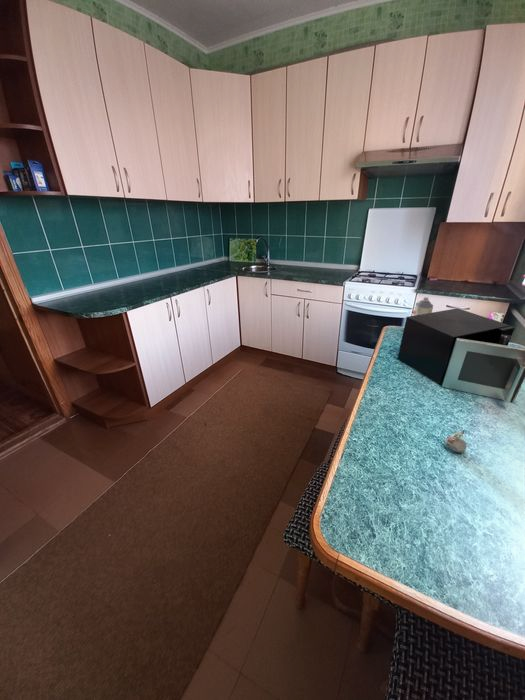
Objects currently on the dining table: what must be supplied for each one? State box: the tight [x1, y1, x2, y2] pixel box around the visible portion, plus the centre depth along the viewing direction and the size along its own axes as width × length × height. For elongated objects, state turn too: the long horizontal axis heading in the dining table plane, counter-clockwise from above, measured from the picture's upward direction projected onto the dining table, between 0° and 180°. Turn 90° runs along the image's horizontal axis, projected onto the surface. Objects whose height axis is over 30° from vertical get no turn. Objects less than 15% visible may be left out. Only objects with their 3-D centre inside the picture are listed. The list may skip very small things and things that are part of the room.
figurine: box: [444, 429, 468, 454], centre depth 73 cm, size 5×4×6 cm
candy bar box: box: [486, 311, 506, 323], centre depth 116 cm, size 11×5×16 cm, turn 137°
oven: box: [397, 308, 516, 385], centre depth 107 cm, size 22×26×18 cm
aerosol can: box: [412, 296, 434, 316], centre depth 128 cm, size 7×7×20 cm
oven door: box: [441, 338, 525, 404], centre depth 89 cm, size 8×20×18 cm, turn 63°
